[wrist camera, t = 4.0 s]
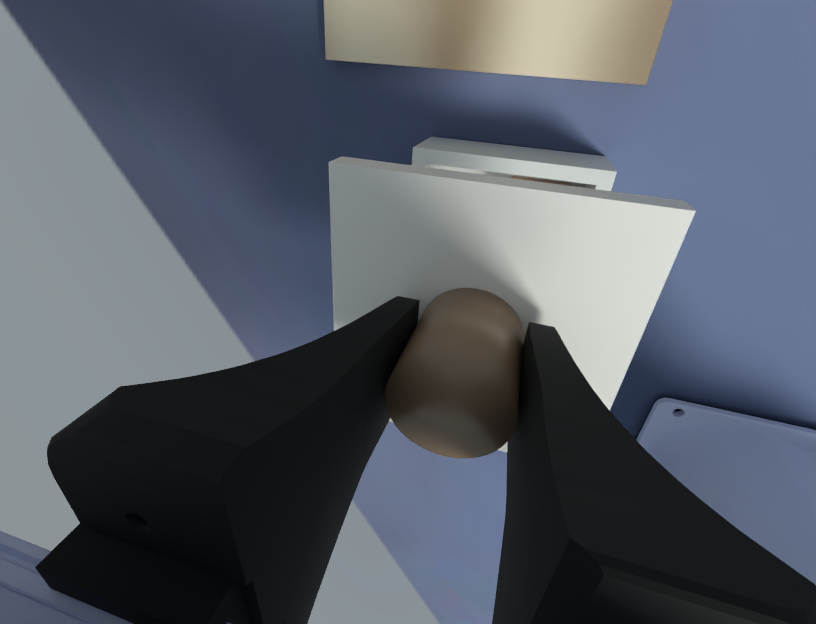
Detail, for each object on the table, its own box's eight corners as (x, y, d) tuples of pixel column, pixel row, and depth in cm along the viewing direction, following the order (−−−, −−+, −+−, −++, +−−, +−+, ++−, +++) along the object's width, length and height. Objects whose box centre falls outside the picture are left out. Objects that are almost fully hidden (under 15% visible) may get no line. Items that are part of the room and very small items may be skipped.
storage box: (606, 156, 16) (616, 171, 14) (560, 309, 20) (562, 344, 17) (431, 136, 18) (412, 147, 15) (418, 283, 21) (401, 311, 19)
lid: (675, 191, 10) (760, 270, 6) (579, 433, 14) (592, 572, 10) (354, 151, 11) (255, 192, 7) (354, 378, 15) (291, 479, 12)
